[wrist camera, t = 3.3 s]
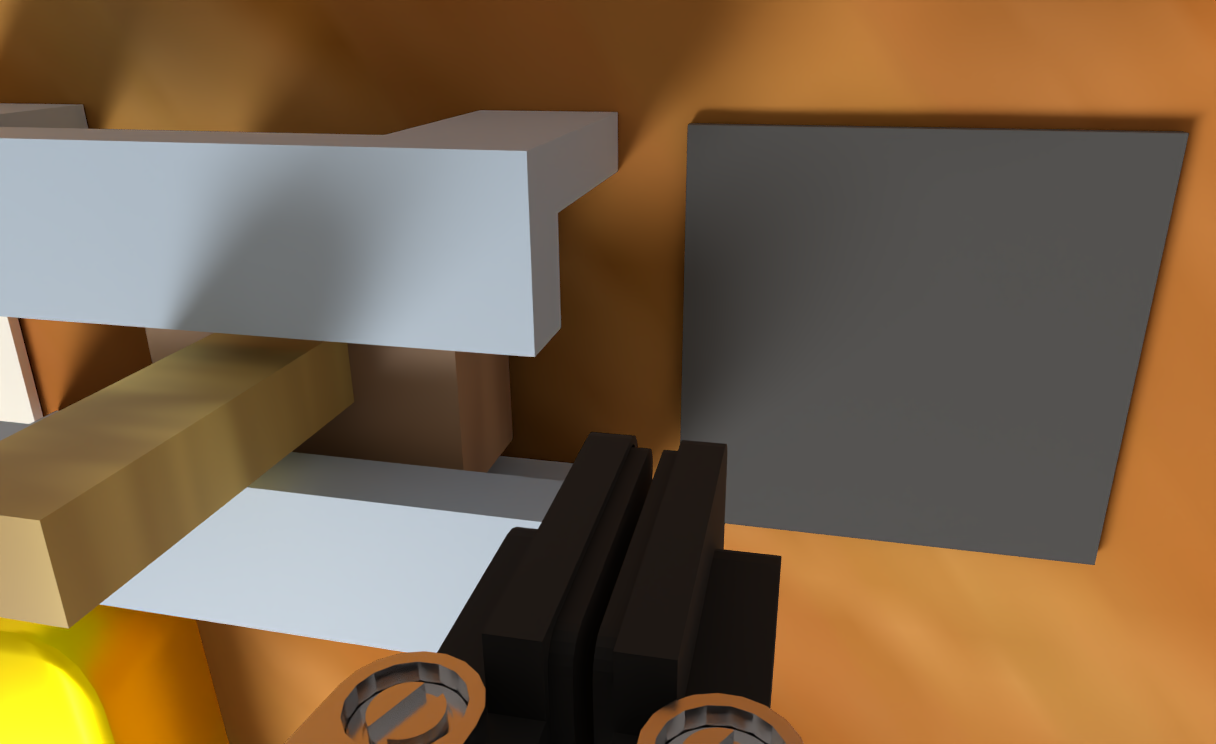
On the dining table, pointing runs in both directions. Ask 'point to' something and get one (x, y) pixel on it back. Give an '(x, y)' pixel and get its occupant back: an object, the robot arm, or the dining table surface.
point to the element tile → (107, 681)
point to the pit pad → (921, 325)
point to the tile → (16, 376)
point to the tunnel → (313, 328)
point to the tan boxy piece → (219, 448)
